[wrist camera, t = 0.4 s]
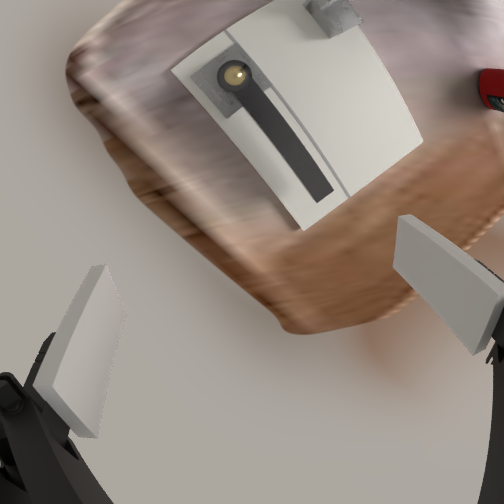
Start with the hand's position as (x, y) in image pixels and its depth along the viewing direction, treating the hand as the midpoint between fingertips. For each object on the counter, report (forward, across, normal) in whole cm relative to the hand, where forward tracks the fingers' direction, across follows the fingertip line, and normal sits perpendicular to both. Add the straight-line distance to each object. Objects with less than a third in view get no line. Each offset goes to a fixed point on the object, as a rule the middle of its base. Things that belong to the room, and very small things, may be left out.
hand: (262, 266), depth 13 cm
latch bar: (+18, +5, +4) cm, 19 cm away
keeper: (+21, +13, +17) cm, 30 cm away
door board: (+22, +10, +6) cm, 25 cm away
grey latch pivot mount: (+21, +2, +9) cm, 23 cm away
